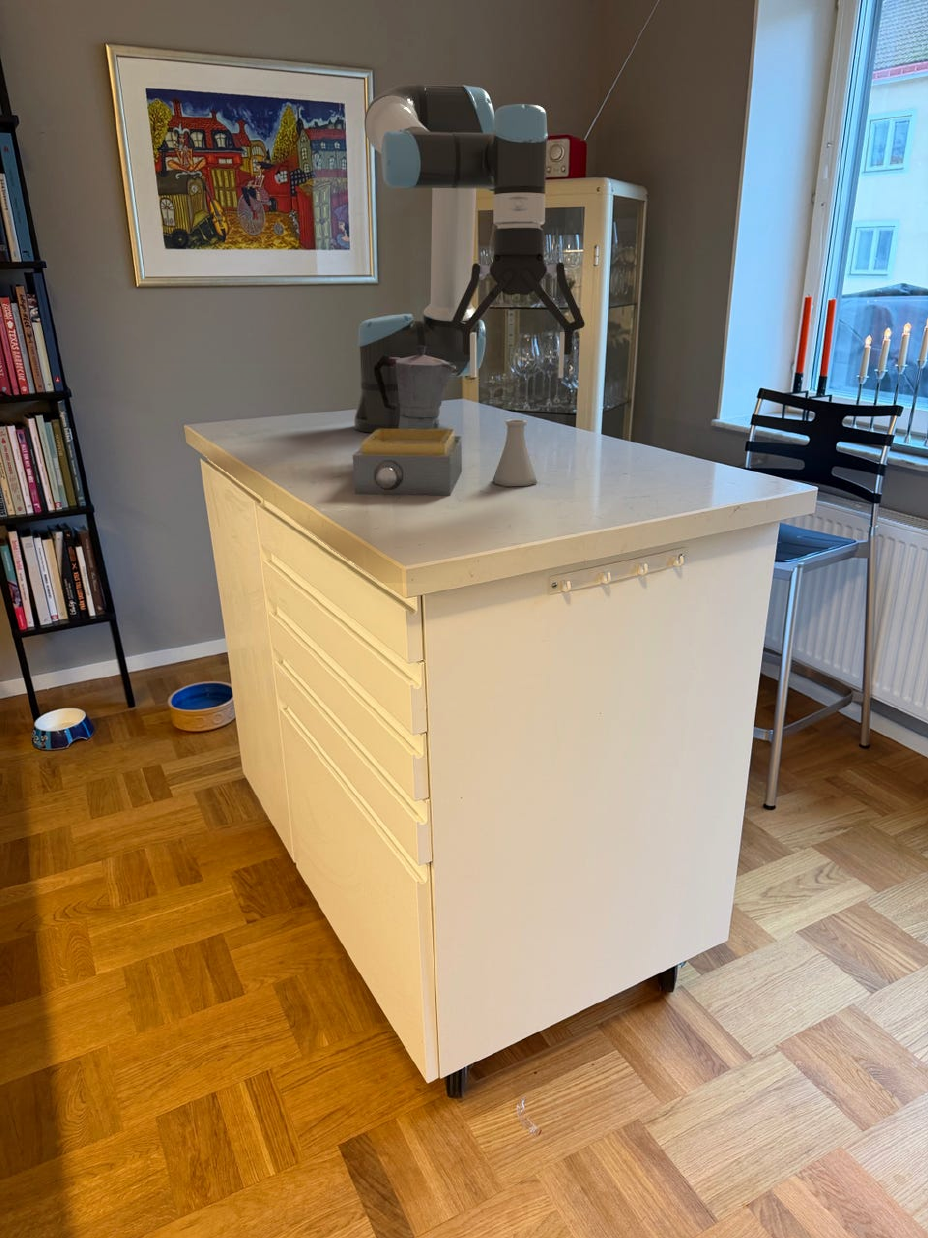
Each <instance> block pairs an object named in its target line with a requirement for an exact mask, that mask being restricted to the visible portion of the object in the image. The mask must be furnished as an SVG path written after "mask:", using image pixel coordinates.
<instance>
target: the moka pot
mask: <svg viewBox="0 0 928 1238" xmlns="http://www.w3.org/2000/svg"><path fill="white" fill-rule="evenodd" d="M425 349H426V347H425V346H423V345H420V346H417V351H418V355H415V356H411V357H406V358H398V357H389V356H386V355H382V358H380V360H379V361H378V362H377V364H376V365H375V366H374V374H375V377H376V381H377V383H378V386H379V390H380V393H381V397H382V399H383V403H384V407H386V408H389V409H394V410H395V409H396V408H397V405H396V404H391V403H390V402H389V399H388V397H387V395H386V389H385V385H384V382H383V377H382V374H381V372H380V369H381V367H382V366H384V365H385V366H387V367H389V368H395V369H396V374H397V384H398V394H399V402H400V414H401V416H400V422H399V428H398V429H441V428H440V427H441V426H440V425H441V424H440V418H439V416H440V412H441V411H440V410H441V406H442V403H443V395H444V390H445V388H446V386H447V384H448V382H449V380H450V378H451V377H452V376H451V374H452V372H453V370H454V369H456V367H455V365H453V364H452V363H449V362H446V361H444V360H441V359H437V358H433V357H430V356H426V355H424V353H425Z"/></svg>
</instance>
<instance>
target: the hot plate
mask: <svg viewBox="0 0 928 1238" xmlns="http://www.w3.org/2000/svg"><path fill="white" fill-rule="evenodd" d="M462 439H463V437H462V435H460V436H459V435H458V436H457V435H456V436H455V429H449V428H447V429H446V428H445V429H444V428H443V429H441V428H440V429H377V430H376V431H374V432H373V433H371V434H369V436H367V437H366V438H365V439H364V440H363V441H362V442H361V447H360V448H359V449H358V450H357V451H355V452H354V453H353V454H352V469H353V482H354V483H353V485H354V486H353V487H354V494H355V495H356V494H357V495H361V494H363V495H401V496H402V495H404V496H406V495H407V496H409V495H411V496H412V495H413V496H415V495H416V496H451V495H452V493H453V491H454V488H455V486H456V484H457V482H458V480H459V478H460V476H461V474H462V471H463V460H462V457H463V456H462V454H463V452H462V451H463V450H462V445H463V442H462Z"/></svg>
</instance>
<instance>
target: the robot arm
mask: <svg viewBox="0 0 928 1238" xmlns="http://www.w3.org/2000/svg"><path fill="white" fill-rule="evenodd" d="M363 123H364V132H365V135H366V137H367V139H368V142H369V144H370V145H371V146H372V147H373V148H374V150H375V151H376V152H378V153H379V154H381V158H380V159H381V173H382V178H383V182H384V184H385V185H386V186H387V187H390V188H402V189H405V190H411V189H432V194H431V195H432V198H431V200H432V204H431V205H432V206H431V212H432V213H431V255H430V256H431V261H430V262H431V265H430V270H431V271H430V303H429V304H428V305H427V306H426V307H425V309H423V318H422V320H415V319H414V317H413V314H411V313H402V314H401V313H400V314H391V315H386V316H378V317H374V318H370V319H365V320H363V321H362V322H361V323H360V324H359V327H358V343H357V347H358V352H359V353H358V354H359V376H360V379H359V380H360V381H359V382H360V396H359V399H358V404H357V407H356V409H355V410H356V411H355V415H354V417H353V418H354V419H353V420H354V429H355V430H357V431H359V432H363V433H371V434H372V433H373V432H374V431H376V430H377V429H398V428H399V422H400V416H401V414H400V402H399V394H398V384H397V374H396V369H395V368H389V367H387V366H385V365H384V366H382V367H381V369H380V372H381V374H382V377H383V382H384V385H385V389H386V395H387V397H388V399H389V402H390V403H391V404H396V405H397V408H396V409H395V410H394V409H389V408H386V407H384V403H383V399H382V397H381V393H380V390H379V386H378V383H377V381H376V377H375V374H374V366H375V365H376V364H377V362H378V361H379V360H380V358H382V355H386V356H389V357H398V358H406V357H411V356H415V355H418V351H417V346H420V345H423V346H425V347H426V349H425V353H424V355H426V356H430V357H433V358H437V359H441V360H444V361H446V362H449V363H452V364H453V365H455V367H456V369H454V370H453V372H452V374H451V376H450V377H454V378H458V377H466V376H469V378H473V379H474V378H476V377H477V372H478V371H479V369H480V368H481V366H482V363H483V360H484V356H485V351H486V350H485V349H486V344H487V343H486V341H487V339H486V335H487V333H486V325H485V322H484V321H483V320H482V318H483V317H484V315H485V313H486V312H487V311H488V310H489V309H490V308H491V306H492V305H493V303H494V302H496V300H497V299H498V297H499V296H500V295H501V294H502V293H503V294H504V295H506V296H514V295H521V296H529V295H531V294H533V293H535V294H536V296H537V297H538V299H540V301H541V302H542V303H543V304H544V306H545V307H546V309H547V310H548V311H549V312H550V313H551V315H552V316H553V317H554V319H555V320H556V321H557V322H558V324H559V325H560V326H561V328H562V329H563V330H564V331H562V332H559V340H558V342H559V343H558V369H557V371H558V373H557V374H558V379H564V365H565V363H564V361H565V360H564V359H565V355H568V356H570V355H571V354H572V351H573V350H572V349H573V334H574V332H575V331H578V330H580V329H582V328H584V327H585V325H586V323H585V321H584V318H583V316H582V313H581V311H580V309H579V306H578V305H577V302H576V300H575V297H574V296H573V293H572V291H571V288H570V286H569V283H568V281H567V279H566V272H565V271H566V270H565V269H566V268H565V264H564V263H563V262H558V263H554V264H546V263H545V231H544V229H543V228H541V226H543V225H544V224H545V223H546V182H547V181H546V180H547V179H546V178H547V177H546V175H547V149H548V148H547V145H548V144H547V142H548V138H549V133H548V122H547V112H546V110H545V108H543V107H541V105H536V104H527V103H526V104H524V103H519V104H518V103H517V104H508V105H502V106H499V108H497V109H496V110H495V111H494V108H493V103H492V100H491V98H490V95H489V93H488V92H487V91H486V90H485V89H483V88H482V87H478V86H469V85H464V84H463V85H451V84H449V85H445V84H444V85H443V84H441V85H439V84H437V85H436V84H433V85H432V84H414V83H413V84H412V83H410V84H401V85H397V86H394V87H390V88H389V89H386V90H384V91H383V92H381V93H380V94H378V95H377V96H375V97H374V98H373V99H372V101H371V102H370V104H369V105H368V107H367V109H366V112H365V115H364V121H363ZM477 190H488V191H490V192H493V207H492V208H493V210H492V211H493V213H492V214H493V216H492V217H493V219H492V220H493V224H494V225H495V226H497V227H496V229H494V231H493V234H492V235H493V236H492V239H493V240H492V242H493V243H492V245H493V247H492V250H493V251H492V255H493V257H492V258H493V259H492V262H491V265H485V264H480V263H477V262H476V263H474V254H475V253H474V250H475V249H474V248H475V228H476V225H475V224H476V203H477V201H476V200H477V199H476V197H477ZM547 273H548V274H550V275H551V278H552V279H554V280H557V283H558V286H559V288H560V290H561V292H562V295H563V297H564V299H565V302H566V304H567V307H568V309H569V311H570V313H571V315H572V318H573V321H571V322H570V321H569V320H568V319H567V317H566V316H565V314H563V312H562V311H561V310H560V308H559V307H558V306H557V304H556V303H555V302H554V300H553V299H552V298H551V297H550V296H549V293H548V292H546V290H545V289H544V288H543V286H542V285H541V284H540V283H541V282H542V281H543V279H544V277H545V276H546V275H547ZM488 274H490V276H491V277H492V279H493V281H495V283H496V284H495V285H494V286H493V288H492V289H491V290H490V291H489V293H488V294H487V296H485V298H484V299H483V300H482V302H481V303H480V305H479V306H477V308H475V307H474V306H473V305H472V301H473V298H474V296H475V293H476V291H477V289H478V286H479V284H480V281H481V280H485V278H486V276H487V275H488Z"/></svg>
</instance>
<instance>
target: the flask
mask: <svg viewBox="0 0 928 1238" xmlns="http://www.w3.org/2000/svg"><path fill="white" fill-rule="evenodd" d="M505 424H506V429H507V430H506V431H507V434H506V437H505V438H506V439H505V443H504V447H503V450H502V453H501V456H500V459H499V461H498V465H497V466H496V469H495V472H494V474H493V477H492V481H493V482H494V484H497V485H499V486H504V487H526V486H530V485H535V484H537V483H538V481H537V478H536V475H535V471H534V468H533V465H532V462H531V459H530V456H529V453H528V449H527V446H526V439H525V426H527V425H526V424H527V421H526V420H525V419H518V418H517V419H514V418H513V419H506V420H505Z"/></svg>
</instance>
